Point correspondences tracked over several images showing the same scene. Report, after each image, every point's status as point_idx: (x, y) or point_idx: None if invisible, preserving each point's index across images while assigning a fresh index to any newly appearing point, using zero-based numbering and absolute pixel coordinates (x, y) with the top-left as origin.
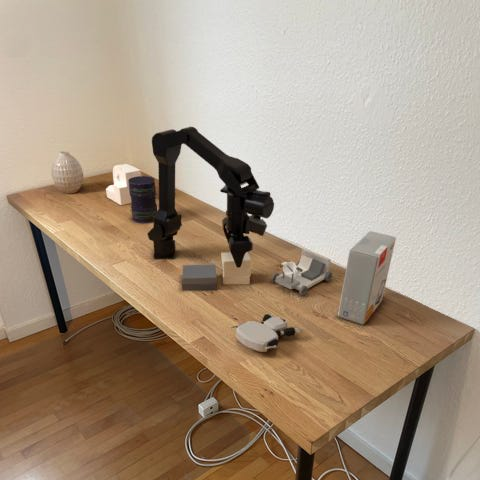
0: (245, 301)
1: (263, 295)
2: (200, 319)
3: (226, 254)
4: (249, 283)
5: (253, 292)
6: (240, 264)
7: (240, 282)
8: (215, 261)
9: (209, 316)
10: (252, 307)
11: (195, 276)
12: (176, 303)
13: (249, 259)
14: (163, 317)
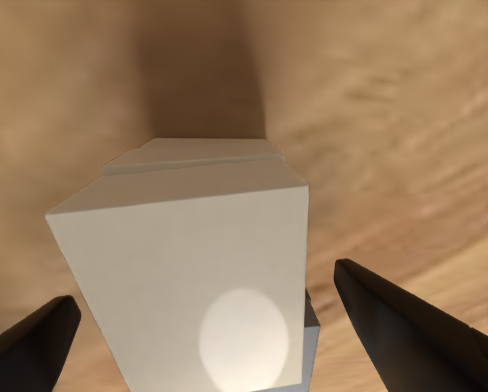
0: (419, 170)
1: (396, 70)
2: (465, 306)
3: (172, 381)
4: (266, 140)
5: (352, 124)
6: (374, 281)
7: None
8: (26, 292)
9: (462, 286)
10: (476, 142)
11: (296, 390)
12: (359, 363)
13: (292, 201)
14: None
